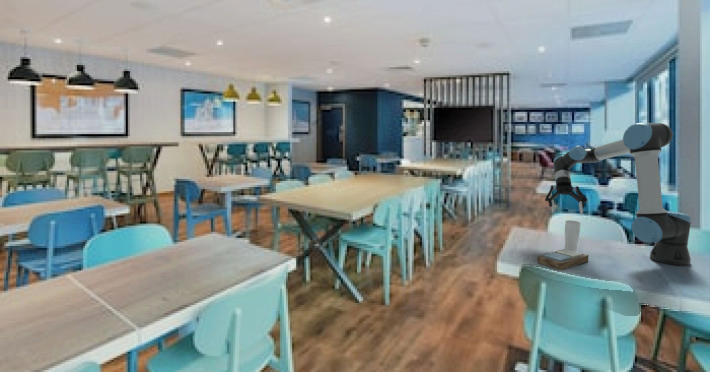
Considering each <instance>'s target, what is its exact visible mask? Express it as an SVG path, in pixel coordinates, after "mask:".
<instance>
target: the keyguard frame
mask: <svg viewBox="0 0 710 372" xmlns="http://www.w3.org/2000/svg"><path fill="white" fill-rule="evenodd" d="M564 249H565V248H563V249H560V250H556V251H552V252H549V253H545V254H541V255H538V256H537V264H541V265H544V266H547V267H551V268H553V269H557V270H559V271H562V270H565V269H569V268H571V267H574V266H578V265H582V264H584V263H588V262H589V254H585V253H583V256H579V257H576V258H570V259H569V260H566V261H563V262H558V261H555V260H552V259H548V258H545V257H544V255H546V254H550V253H553V252H555V253H557V251H561V250H564Z"/></svg>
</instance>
